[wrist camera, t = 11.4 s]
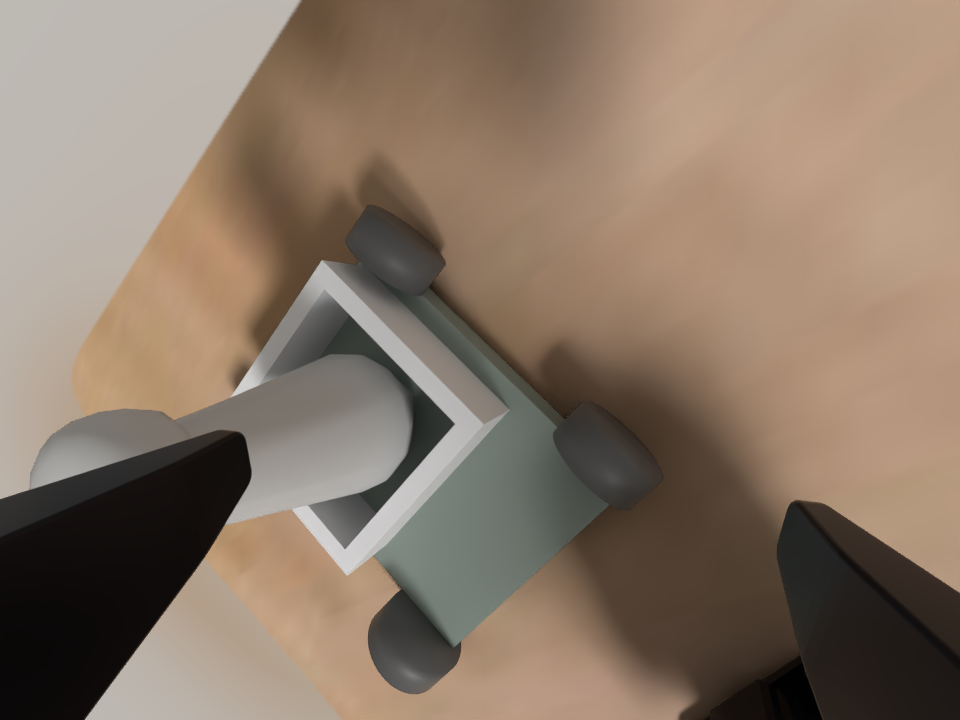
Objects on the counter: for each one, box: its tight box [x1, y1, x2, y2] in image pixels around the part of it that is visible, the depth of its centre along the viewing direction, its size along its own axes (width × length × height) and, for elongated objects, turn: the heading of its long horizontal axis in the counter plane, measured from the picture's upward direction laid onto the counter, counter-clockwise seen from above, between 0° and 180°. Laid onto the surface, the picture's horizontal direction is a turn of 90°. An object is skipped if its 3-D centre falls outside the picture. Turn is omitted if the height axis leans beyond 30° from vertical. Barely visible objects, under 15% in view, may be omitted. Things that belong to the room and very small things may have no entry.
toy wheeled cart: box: [231, 205, 663, 694], centre depth 23 cm, size 16×14×4 cm
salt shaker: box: [29, 354, 415, 525], centre depth 18 cm, size 6×6×13 cm
